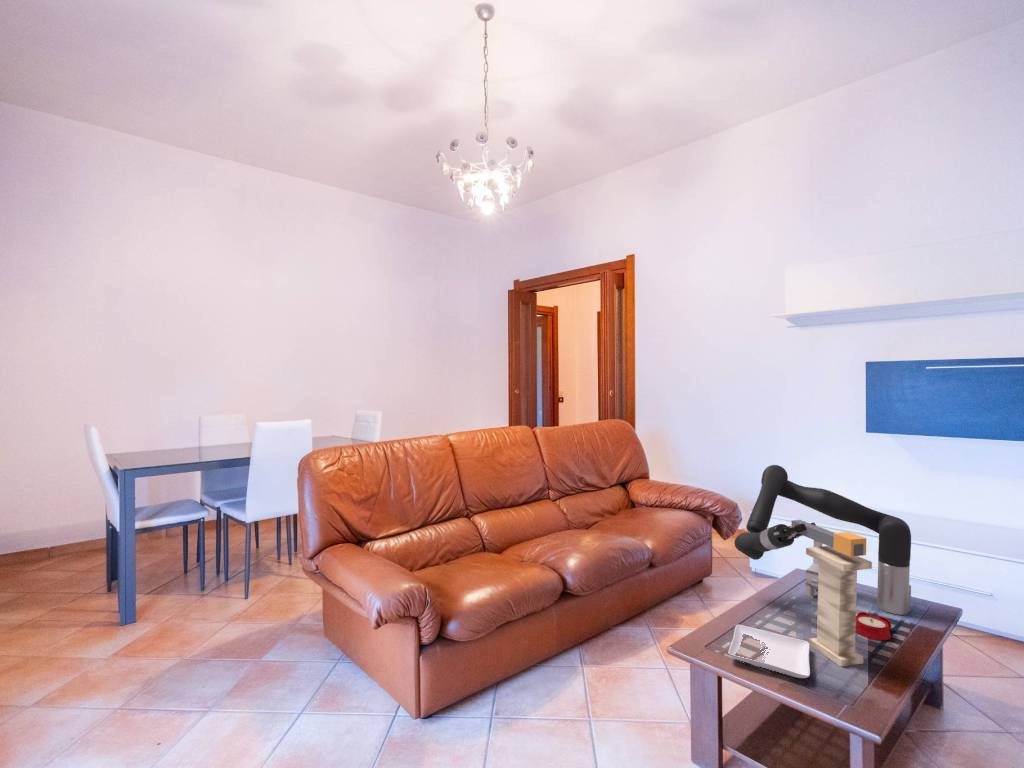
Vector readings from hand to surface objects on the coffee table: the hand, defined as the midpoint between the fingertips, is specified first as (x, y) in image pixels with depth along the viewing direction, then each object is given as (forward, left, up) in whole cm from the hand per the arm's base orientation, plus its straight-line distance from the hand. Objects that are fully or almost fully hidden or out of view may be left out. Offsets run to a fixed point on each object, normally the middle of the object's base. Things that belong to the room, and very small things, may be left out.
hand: (809, 526), depth 166 cm
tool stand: (0, +11, -36) cm, 38 cm away
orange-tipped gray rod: (0, +6, -3) cm, 7 cm away
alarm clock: (-24, +2, -37) cm, 44 cm away
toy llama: (-30, -25, -37) cm, 53 cm away
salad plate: (+21, +8, -37) cm, 43 cm away
